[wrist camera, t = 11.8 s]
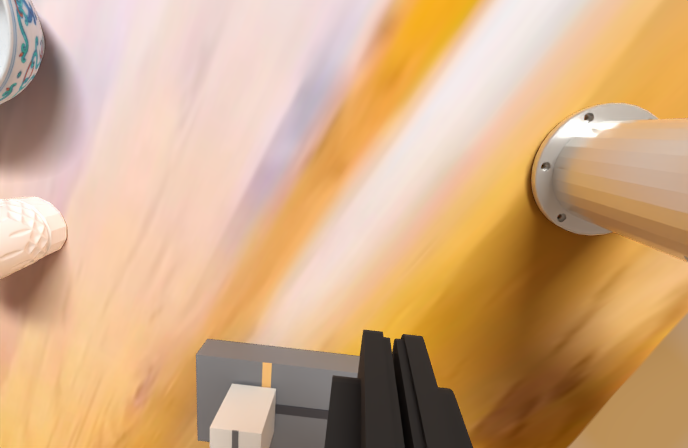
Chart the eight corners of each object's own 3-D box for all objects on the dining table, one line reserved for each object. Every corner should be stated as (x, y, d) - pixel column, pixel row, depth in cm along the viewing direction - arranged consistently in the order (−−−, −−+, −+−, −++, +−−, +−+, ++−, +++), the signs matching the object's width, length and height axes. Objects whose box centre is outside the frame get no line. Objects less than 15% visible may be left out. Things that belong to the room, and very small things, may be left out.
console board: (425, 363, 41) (430, 382, 38) (410, 444, 44) (414, 467, 41) (207, 338, 41) (195, 355, 38) (208, 420, 45) (197, 441, 42)
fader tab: (276, 388, 39) (261, 434, 33) (273, 431, 40) (259, 483, 35) (232, 383, 39) (209, 428, 33) (231, 426, 41) (209, 477, 35)
